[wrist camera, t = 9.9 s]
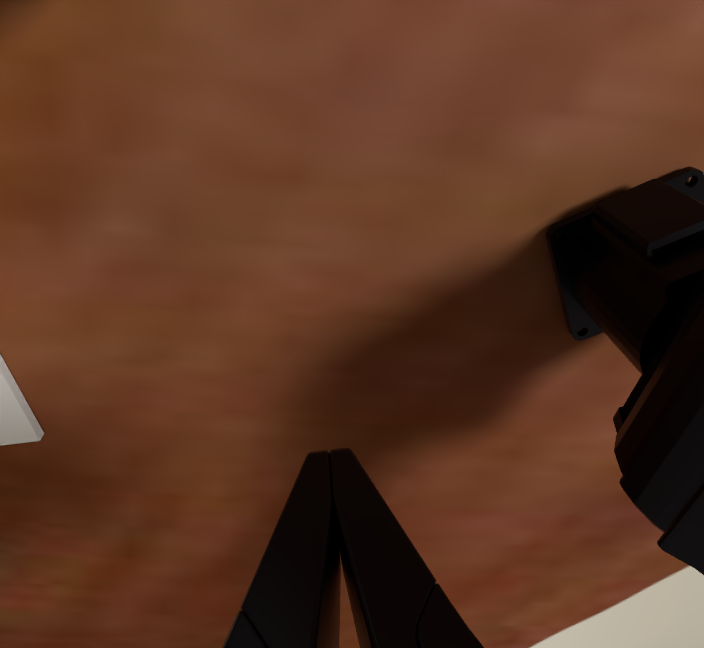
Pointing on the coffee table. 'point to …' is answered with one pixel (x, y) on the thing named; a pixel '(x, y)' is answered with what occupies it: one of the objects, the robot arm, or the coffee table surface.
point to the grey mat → (15, 412)
